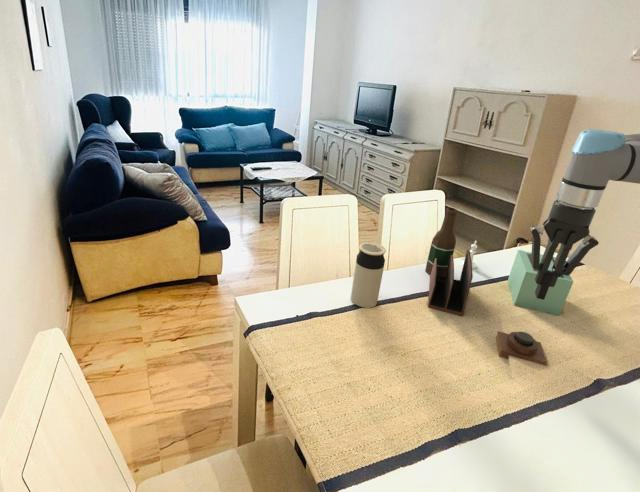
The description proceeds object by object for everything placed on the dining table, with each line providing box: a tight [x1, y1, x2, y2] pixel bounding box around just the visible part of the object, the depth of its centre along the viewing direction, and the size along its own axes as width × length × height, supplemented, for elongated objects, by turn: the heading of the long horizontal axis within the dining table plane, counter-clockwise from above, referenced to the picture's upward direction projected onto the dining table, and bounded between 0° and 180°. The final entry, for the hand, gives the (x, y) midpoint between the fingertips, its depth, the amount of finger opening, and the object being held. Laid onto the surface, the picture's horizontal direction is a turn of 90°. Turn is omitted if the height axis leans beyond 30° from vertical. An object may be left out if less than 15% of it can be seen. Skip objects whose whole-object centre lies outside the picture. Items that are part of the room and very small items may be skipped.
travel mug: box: [350, 242, 387, 309], centre depth 113 cm, size 8×8×18 cm
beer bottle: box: [425, 207, 458, 277], centre depth 130 cm, size 8×8×24 cm
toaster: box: [507, 249, 574, 317], centre depth 121 cm, size 12×16×12 cm
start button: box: [515, 331, 534, 346], centre depth 97 cm, size 4×4×2 cm
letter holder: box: [427, 249, 474, 317], centre depth 119 cm, size 10×20×14 cm, turn 158°
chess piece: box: [461, 240, 478, 269], centre depth 139 cm, size 5×5×10 cm
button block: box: [495, 330, 548, 366], centre depth 98 cm, size 10×8×4 cm
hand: (539, 296), depth 92 cm, fingers closed
